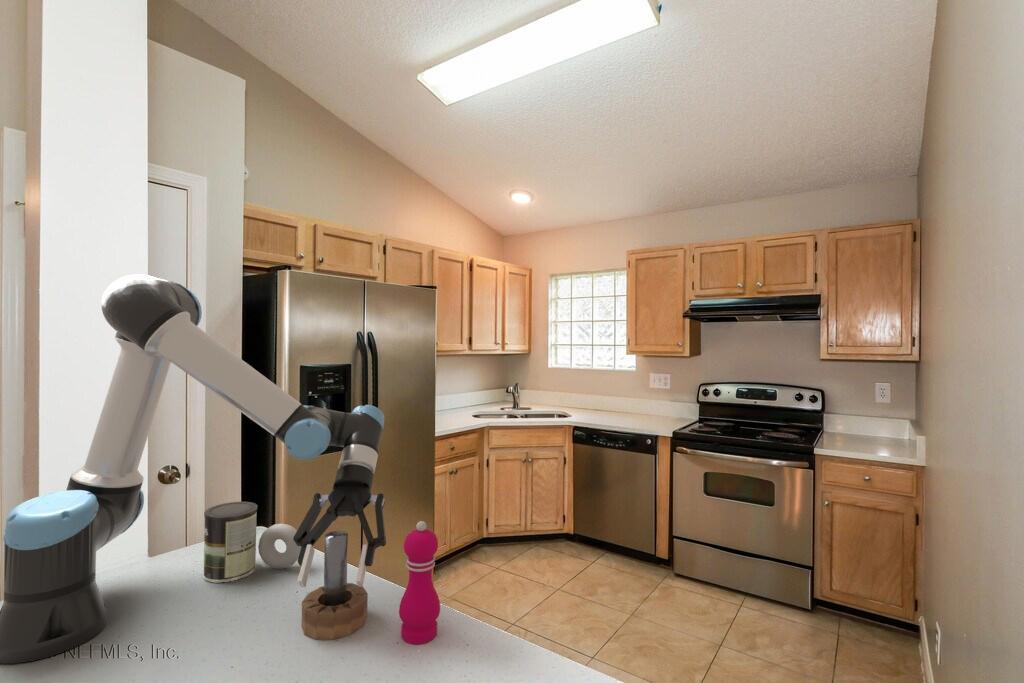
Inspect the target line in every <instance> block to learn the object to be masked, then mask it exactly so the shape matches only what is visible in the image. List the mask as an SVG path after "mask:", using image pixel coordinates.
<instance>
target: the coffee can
mask: <svg viewBox="0 0 1024 683" xmlns="http://www.w3.org/2000/svg"><path fill="white" fill-rule="evenodd" d="M258 508H259V506H258V504H256V503H255V502H251V501H232V502H225V503H220V504H217V505H214V506H211V507H209V508H207V509H206V510H205V511H204V513H203V514H204V516H203V517H204V535H203V536H204V538H203V539H204V544H203V575H202V577H203V578H202V579H203V580H204V581H206V582H208V583H212V582H213V583H212V584H222V582H225V583H230V582H229V581H231V582H235V581H238V579H239V580H241V578H242V579H245V578H247V577H248V576H250V575H251V574H253V573H254V572H255V570H256V567H257V565H256V554H257V552H256V548H257V512H258ZM234 580H235V581H234Z"/></svg>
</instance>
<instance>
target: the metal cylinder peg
mask: <svg viewBox="0 0 1024 683" xmlns="http://www.w3.org/2000/svg"><path fill="white" fill-rule="evenodd" d="M348 542H349V533H348V532H347V531H344V530H336V531H331V532H327V533H325V535H324V565H323V566H324V568H323V586H324V606H337V605H341V604H344V603H346V602H347V583H348V553H349V552H348V549H349V547H348V544H349V543H348Z"/></svg>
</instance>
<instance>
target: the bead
mask: <svg viewBox="0 0 1024 683" xmlns="http://www.w3.org/2000/svg"><path fill="white" fill-rule="evenodd" d="M368 597H369V596H368V592H367V590H366V589H365V587H364V586H363V587H359V586H358V584H357V583H356V584H355V583H353V582H347V602H346V603H344V604H341V605H337V606H324V585H321V586H319V587H318V588H316V589H314V590H312V591H310V592H308V593H307V594H306V596H305V597H304V598H303V599H302V601H301V629H302V632H303V634H304V636H307V637H308V638H311V639H313V640H316V641H317V640H318V641H319V640H321V641H323V640H333V641H334V640H337V639H341V638H345V637H347V636H351V635H353V634H354V633H355V632H357V631H359V630H360V629H362V628H363V627H364V626H365V623H366V622H367V621H366V620H367V619H368Z"/></svg>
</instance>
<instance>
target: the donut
mask: <svg viewBox="0 0 1024 683" xmlns="http://www.w3.org/2000/svg"><path fill="white" fill-rule="evenodd" d="M297 530H298V529H296V528H295V527H293V526H291V525H290V524H287V523H286V524H285V523H275V524H273V525H270V526H269V527H267V528H266V530H264V531H263V532H262V534H261V536H260V537H259V541H258V554H259V556H260V559H261V560H262V561H263V563H265V565H266V566H268V567H270V568H272V569H277V570H282V569H287V568H289V567H291V566H292V565H294V564H295V563H296V562H298V558H299V554H300V550H301V546H297V544H296V543H295V541H294V540H293V537H294V536H295V534H296V532H297ZM278 540H281V541H282V542H284V544H285V551H284V552H280V551H278V550H277V548H276V545H275V543H276V541H278Z"/></svg>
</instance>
